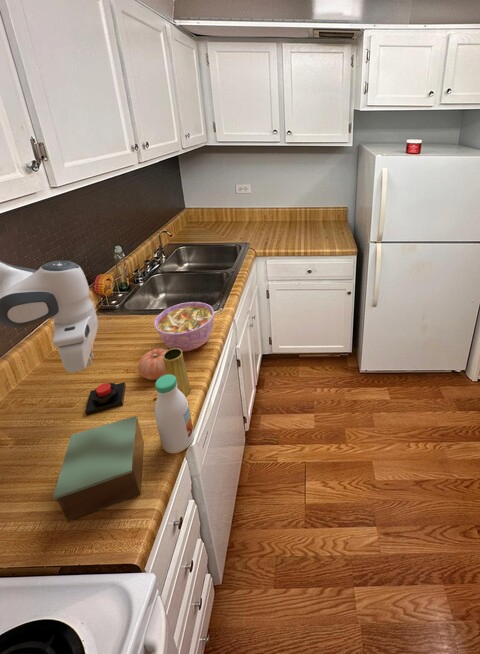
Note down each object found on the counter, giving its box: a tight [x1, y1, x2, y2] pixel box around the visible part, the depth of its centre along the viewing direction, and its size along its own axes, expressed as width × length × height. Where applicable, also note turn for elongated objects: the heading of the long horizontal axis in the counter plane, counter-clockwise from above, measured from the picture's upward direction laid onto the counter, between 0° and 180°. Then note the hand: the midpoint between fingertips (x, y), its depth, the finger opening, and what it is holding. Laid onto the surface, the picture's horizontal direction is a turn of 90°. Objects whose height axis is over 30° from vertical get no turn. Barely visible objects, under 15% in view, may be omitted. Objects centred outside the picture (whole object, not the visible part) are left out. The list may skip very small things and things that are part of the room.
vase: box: [163, 348, 192, 397], centre depth 98 cm, size 6×6×14 cm
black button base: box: [84, 381, 127, 416], centre depth 97 cm, size 9×8×4 cm
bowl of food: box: [153, 301, 215, 352], centre depth 119 cm, size 20×20×12 cm
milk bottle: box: [154, 374, 195, 454], centre depth 82 cm, size 8×8×20 cm
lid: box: [52, 415, 138, 501], centre depth 73 cm, size 15×14×1 cm
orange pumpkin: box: [137, 347, 169, 381], centre depth 106 cm, size 11×11×8 cm
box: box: [56, 418, 145, 523], centre depth 75 cm, size 14×14×9 cm
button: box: [95, 382, 112, 397], centre depth 96 cm, size 4×4×2 cm
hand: (89, 362), depth 91 cm, fingers closed
